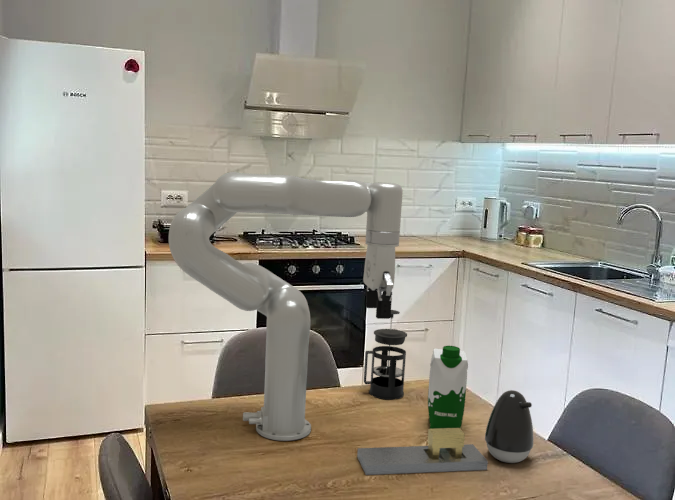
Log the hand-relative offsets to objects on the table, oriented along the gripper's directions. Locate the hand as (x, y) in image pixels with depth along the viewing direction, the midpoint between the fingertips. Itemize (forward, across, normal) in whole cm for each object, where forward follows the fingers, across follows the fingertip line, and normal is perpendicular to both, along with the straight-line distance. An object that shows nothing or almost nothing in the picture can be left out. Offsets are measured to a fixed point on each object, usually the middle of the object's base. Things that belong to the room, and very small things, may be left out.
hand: (377, 312), depth 153 cm
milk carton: (+28, -2, +19) cm, 34 cm away
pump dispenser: (+28, +16, +27) cm, 42 cm away
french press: (+28, -24, +10) cm, 39 cm away
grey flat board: (+28, +17, +7) cm, 34 cm away
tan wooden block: (+28, +17, +12) cm, 35 cm away
